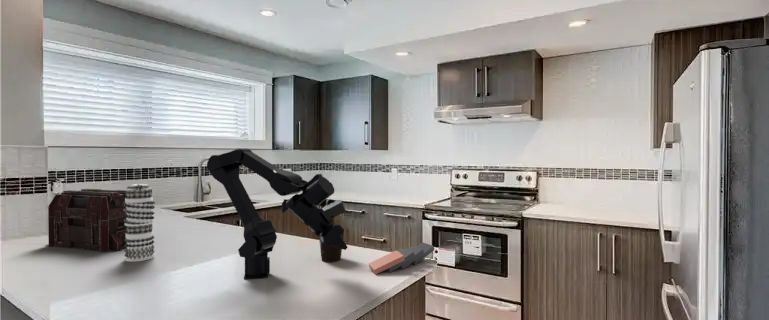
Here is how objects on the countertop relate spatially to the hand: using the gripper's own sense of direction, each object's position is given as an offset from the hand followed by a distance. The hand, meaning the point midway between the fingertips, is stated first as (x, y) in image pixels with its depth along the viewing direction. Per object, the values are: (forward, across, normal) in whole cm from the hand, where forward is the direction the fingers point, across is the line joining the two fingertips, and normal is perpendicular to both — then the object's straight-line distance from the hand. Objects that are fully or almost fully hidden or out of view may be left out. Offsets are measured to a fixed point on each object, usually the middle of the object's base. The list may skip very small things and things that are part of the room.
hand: (346, 248), depth 111 cm
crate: (-49, +73, +63) cm, 108 cm away
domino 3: (+17, +3, -7) cm, 19 cm away
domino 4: (+21, +6, -11) cm, 24 cm away
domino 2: (+14, +1, -4) cm, 15 cm away
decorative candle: (-36, +44, +49) cm, 75 cm away
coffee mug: (+7, +20, +5) cm, 22 cm away
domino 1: (+11, +1, -1) cm, 11 cm away
